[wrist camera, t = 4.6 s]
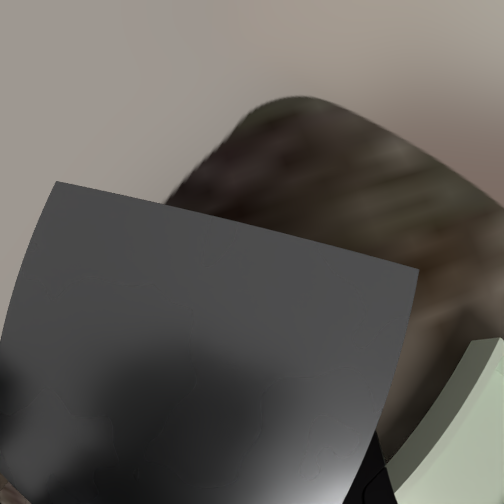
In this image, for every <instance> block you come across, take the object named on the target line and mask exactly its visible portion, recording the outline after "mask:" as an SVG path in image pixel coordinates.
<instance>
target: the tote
mask: <svg viewBox="0 0 504 504" xmlns="http://www.w3.org/2000/svg"><path fill="white" fill-rule="evenodd" d="M385 467H387V470H388V474H389V478H390V481H391V485H392V488H393V491H394V494H395V497H396V500H397V502H398V504H504V340H503V339H502V338H500V337H498V338H490V339H482V340H473V341H471V342H470V344H469V346H468V348H467V350H466V351H465V353H464V355H463V357H462V359H461V360H460V362H459V364H458V365H457V367H456V369H455V371H454V372H453V374H452V376H451V377H450V379H449V380H448V382H447V384H446V385H445V387H444V388H443V390H442V391H441V393H440V395H439V396H438V398H437V399H436V401H435V402H434V404H433V405H432V406H431V408H430V409H429V411H428V412H427V414H426V415H425V416H424V418H423V419H422V421H421V422H420V423H419V425H418V426H417V427H416V429H415V430H414V431H413V433H412V434H411V435H410V437H409V438H408V439H407V440H406V442H405V443H404V444H403V445H402V447H401V448H400V449H399V450H398V452H397V453H396V454H395V455H394V456H393V458H392V459H391V460H390V461H389V462H388V463H387V465H386V466H385Z"/></svg>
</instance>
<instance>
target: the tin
mask: <svg viewBox="0 0 504 504" xmlns="http://www.w3.org/2000/svg"><path fill="white" fill-rule="evenodd" d="M418 273H419V269H415V268H412V267H408V266H405V265H401V264H398V263H394V262H390V261H387V260H383V259H379V258H376V257H372V256H368V255H365V254H361V253H357V252H354V251H350V250H346V249H342V248H338V247H335V246H331V245H327V244H323V243H319V242H316V241H312V240H308V239H304V238H300V237H296V236H292V235H288V234H284V233H280V232H276V231H272V230H269V229H264V228H260V227H256V226H252V225H248V224H244V223H240V222H236V221H232V220H228V219H224V218H220V217H215V216H211V215H207V214H203V213H199V212H194V211H190V210H186V209H182V208H177V207H173V206H169V205H164V204H160V203H155V202H151V201H146V200H142V199H137V198H133V197H128V196H124V195H120V194H115V193H110V192H106V191H101V190H97V189H92V188H87V187H82V186H78V185H73V184H68V183H63V182H58V181H56V183H55V185H54V187H53V189H52V191H51V193H50V195H49V198H48V200H47V202H46V204H45V206H44V209H43V211H42V214H41V216H40V218H39V220H38V223H37V225H36V228H35V230H34V233H33V235H32V238H31V240H30V243H29V246H28V248H27V251H26V254H25V257H24V259H23V262H22V265H21V268H20V271H19V274H18V277H17V280H16V283H15V287H14V290H13V293H12V297H11V300H10V304H9V308H8V311H7V315H6V319H5V323H4V328H3V332H2V336H1V341H0V473H1V474H2V475H3V476H4V477H5V478H6V479H7V480H8V481H9V482H10V483H11V484H12V485H13V486H14V487H15V488H16V489H17V490H18V491H19V492H20V493H21V494H22V495H23V496H24V497H25V498H26V499H27V500H28V501H29V502H31V503H32V504H342V503H343V501H344V499H345V497H346V495H347V493H348V491H349V489H350V487H351V485H352V482H353V480H354V478H355V476H356V474H357V472H358V469H359V467H360V465H361V463H362V460H363V458H364V456H365V453H366V451H367V449H368V446H369V444H370V441H371V439H372V436H373V434H374V431H375V429H376V426H377V423H378V421H379V418H380V415H381V412H382V410H383V407H384V404H385V401H386V398H387V395H388V392H389V389H390V386H391V383H392V380H393V376H394V373H395V370H396V366H397V363H398V360H399V356H400V352H401V349H402V345H403V341H404V337H405V333H406V329H407V325H408V321H409V317H410V313H411V308H412V303H413V299H414V294H415V289H416V284H417V278H418Z"/></svg>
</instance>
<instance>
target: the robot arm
mask: <svg viewBox="0 0 504 504" xmlns="http://www.w3.org/2000/svg"><path fill="white" fill-rule="evenodd" d="M385 466H386V464H385V460H384V456H383V453H382V450H381V446H380V443H379V439H378V436H377V433H376V429H375V431H374V434H373V436H372V439H371V441H370V444H369V446H368V449H367V451H366V453H365V456H364V458H363V460H362V463H361V465H360V467H359V469H358V472H357V474H356V476H355V478H354V480H353V482H352V485H351V487H350V489H349V491H348V493H347V495H346V497H345V499H344V501H343V503H342V504H398V502H397V500H396V497H395V494H394V491H393V488H392V485H391V481H390V478H389V474H388V470H387V467H385ZM7 483H8V480H7V479H6V478H5V477H4V476H3V475H2V474H1V473H0V491H1V490H2V489H3V487H4V486H5V485H6V484H7ZM0 504H1V503H0Z"/></svg>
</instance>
